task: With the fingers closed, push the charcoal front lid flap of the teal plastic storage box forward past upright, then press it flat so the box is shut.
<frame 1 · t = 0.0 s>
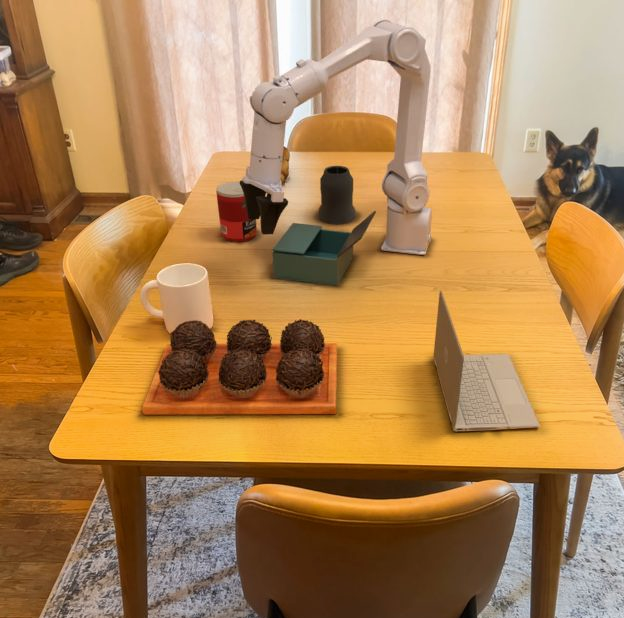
hand: (260, 226, 127), 11 cm above the table, tool pointing down, fingers open, 7 cm apart
laptop: (482, 393, 102), on the table
lid: (357, 233, 130), point 8 cm above the table, hinge at 135.0°
mug: (179, 327, 118), on the table
mug 2: (337, 214, 159), on the table
canned food: (239, 236, 149), on the table
truffle serving tray: (246, 382, 104), on the table
storage box: (314, 267, 136), on the table
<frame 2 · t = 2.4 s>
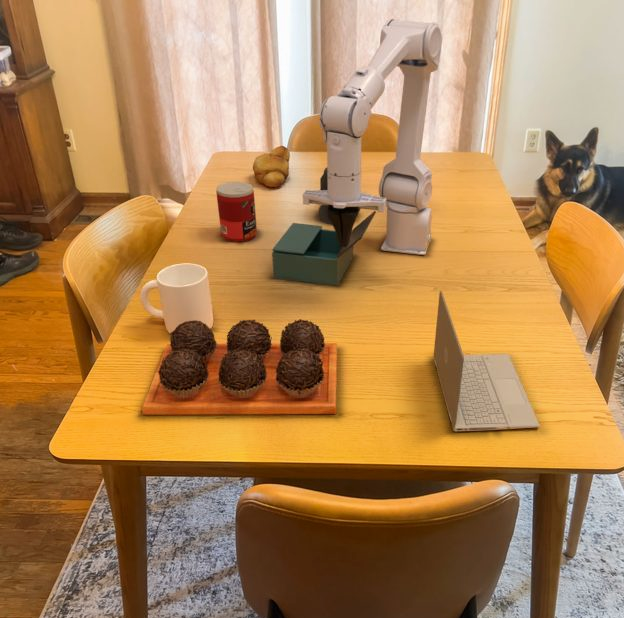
hand: (344, 244, 121), 10 cm above the table, tool pointing down, fingers closed
nothing on the table moved.
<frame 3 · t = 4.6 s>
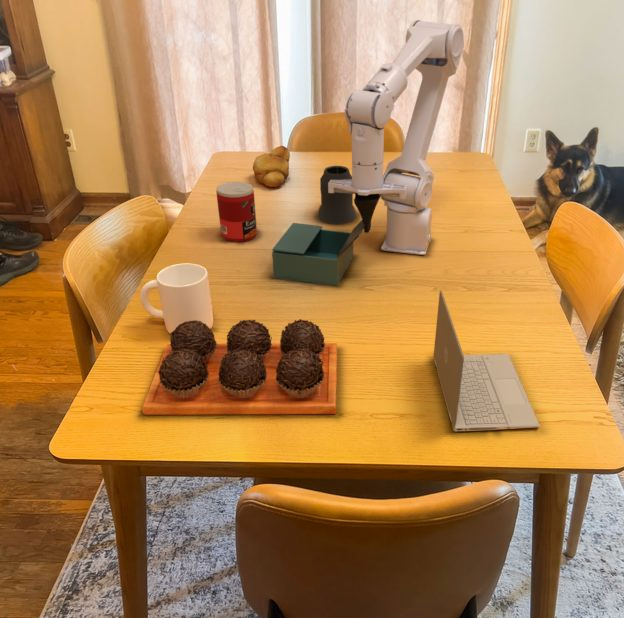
hand: (366, 230, 129), 9 cm above the table, tool pointing down, fingers closed, pressing on lid
lid: (356, 232, 130), point 9 cm above the table, hinge at 129.9°, touching gripper
everything else where it was.
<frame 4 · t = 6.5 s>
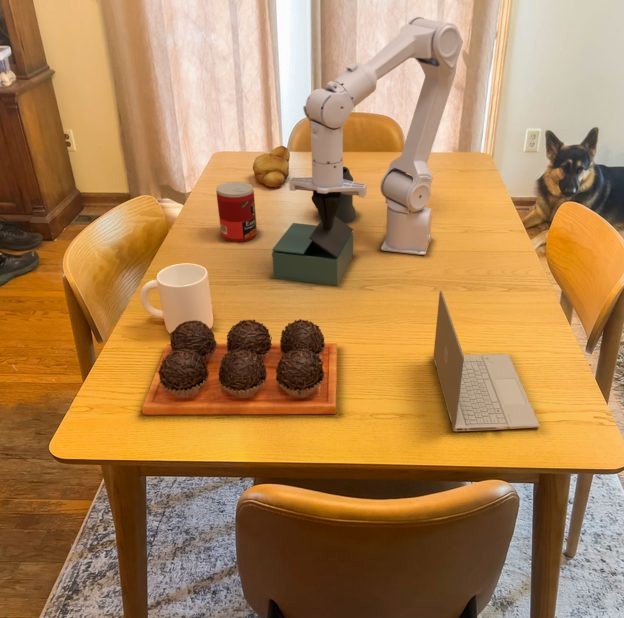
hand: (328, 228, 131), 9 cm above the table, tool pointing down, fingers closed
lid: (332, 233, 131), point 8 cm above the table, hinge at 32.4°, touching gripper
everything else where it was.
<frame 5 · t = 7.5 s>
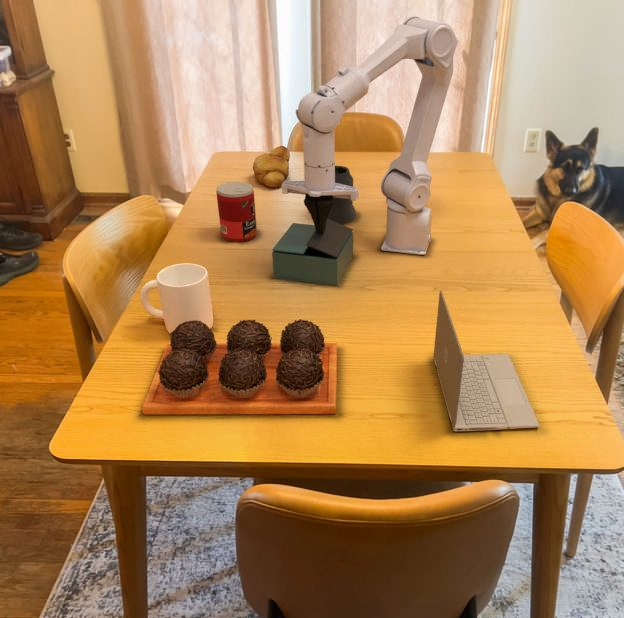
hand: (320, 231, 131), 8 cm above the table, tool pointing down, fingers closed
lid: (330, 236, 132), point 7 cm above the table, hinge at 17.9°
everything else where it was.
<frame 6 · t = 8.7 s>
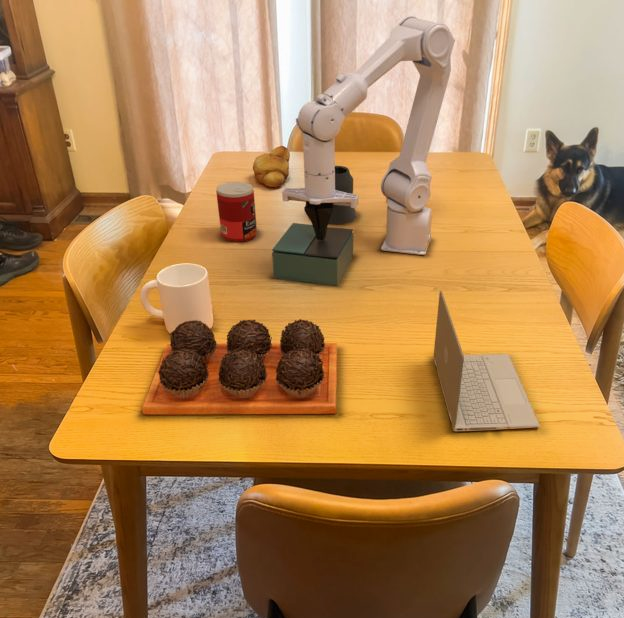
hand: (321, 237, 132), 7 cm above the table, tool pointing down, fingers closed
lid: (329, 241, 132), point 6 cm above the table, hinge at -1.1°
everything else where it was.
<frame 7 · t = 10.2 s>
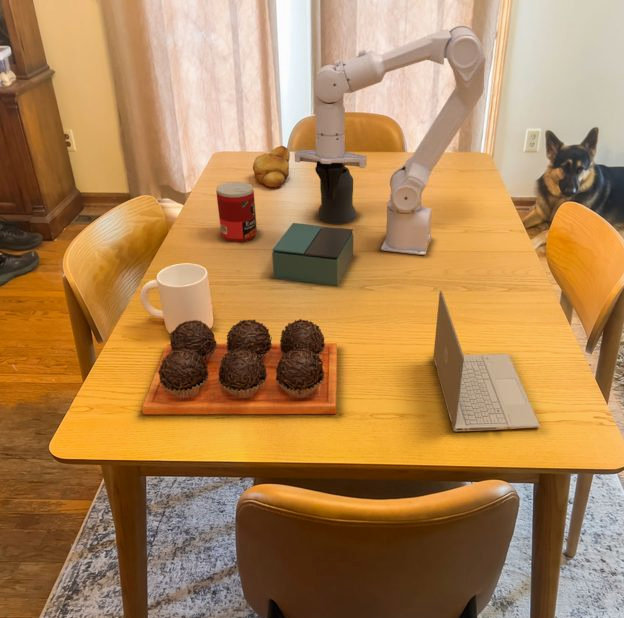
hand: (330, 197, 140), 10 cm above the table, tool pointing down, fingers closed
nothing on the table moved.
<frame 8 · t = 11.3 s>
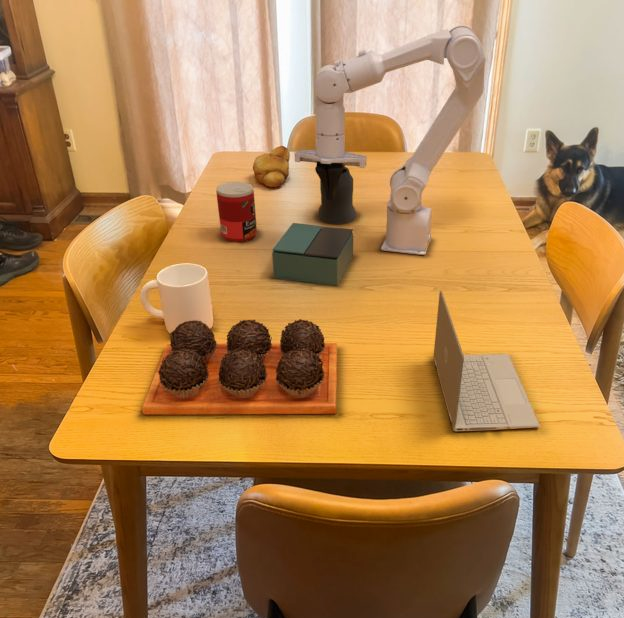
hand: (330, 197, 140), 10 cm above the table, tool pointing down, fingers closed
nothing on the table moved.
at the end: lid reached -1° during the clip, -1° at the end; lid at -1° (first picture: +135°) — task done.
